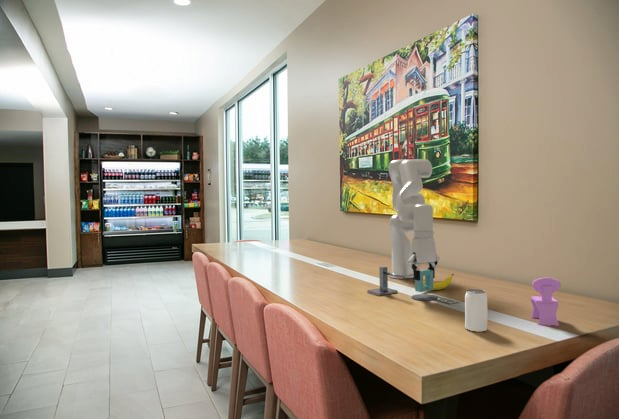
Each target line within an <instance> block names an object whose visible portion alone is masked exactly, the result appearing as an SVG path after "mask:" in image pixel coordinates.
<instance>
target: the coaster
mask: <svg viewBox="0 0 619 419" xmlns="http://www.w3.org/2000/svg"><path fill="white" fill-rule="evenodd" d="M411 299H413V300H415V301H420V302H431V301H436V300H438V296H436V295H434V294H426V293H425V294H424V293H419V294H417V293H416V294H413V295H412V296H411Z"/></svg>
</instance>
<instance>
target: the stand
mask: <svg viewBox="0 0 619 419" xmlns="http://www.w3.org/2000/svg"><path fill="white" fill-rule="evenodd" d="M389 276H393V277H398V278H402V280H405V279H404V278H405V276H402V275H398V274H393V273H392V272H388V266H384V265H383V266H379V288H372V289H367V291H366V292H367V293H368V294H372V295H374V296H378V297H380V296H381V297H382V296H387V295H393V294H398V291H399V290H397V289H393V288H390V287H389V285H388V284H389V282H388V280H389V279H388V277H389ZM398 278H397V279H398Z"/></svg>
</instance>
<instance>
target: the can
mask: <svg viewBox="0 0 619 419" xmlns="http://www.w3.org/2000/svg"><path fill="white" fill-rule="evenodd" d="M486 292H487V291H486V290H483V289H479V288H478V289H477V288H472V289H471V288H468V289H466V293H465V294H464V324H465V325H464V328H465V329H466V330H467V329H468V330H467V331H469V330H470V332H472V331H476V332H475V333H484V332H483V331H485V332H487V330H488V296H487V294H486Z"/></svg>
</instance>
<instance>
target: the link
mask: <svg viewBox="0 0 619 419" xmlns="http://www.w3.org/2000/svg"><path fill="white" fill-rule="evenodd" d="M419 271H420V280H419V281H418V280H414V291H415V292H418V293H423V292H424V293H425V292H426V291H427V292H429V291H434V290H433V283H434V278H433V270H428V268H427V269H421V270H420V269H419ZM423 282H425V285H424V286H423Z"/></svg>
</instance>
